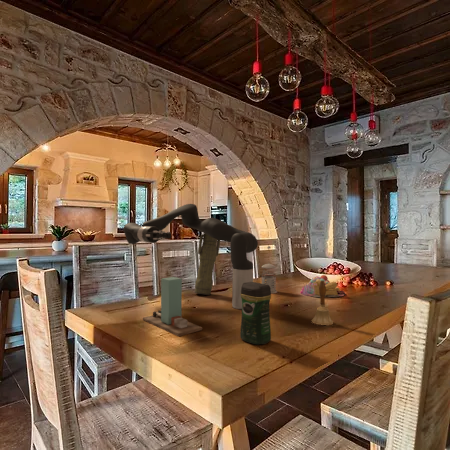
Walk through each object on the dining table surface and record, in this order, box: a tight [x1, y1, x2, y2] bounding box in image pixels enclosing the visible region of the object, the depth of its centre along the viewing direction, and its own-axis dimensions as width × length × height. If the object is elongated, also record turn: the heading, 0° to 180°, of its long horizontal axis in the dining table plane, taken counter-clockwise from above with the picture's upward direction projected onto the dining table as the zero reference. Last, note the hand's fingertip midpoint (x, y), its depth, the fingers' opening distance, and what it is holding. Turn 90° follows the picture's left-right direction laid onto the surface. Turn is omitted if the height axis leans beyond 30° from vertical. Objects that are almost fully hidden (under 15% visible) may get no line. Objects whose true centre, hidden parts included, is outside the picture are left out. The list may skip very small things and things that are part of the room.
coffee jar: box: [239, 281, 272, 345], centre depth 104 cm, size 10×8×19 cm
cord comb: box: [142, 310, 203, 337], centre depth 119 cm, size 24×10×4 cm, turn 43°
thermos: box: [194, 233, 221, 296], centre depth 171 cm, size 9×12×35 cm
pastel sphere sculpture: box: [300, 274, 347, 298], centre depth 176 cm, size 25×24×9 cm
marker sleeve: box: [160, 276, 183, 325], centre depth 119 cm, size 5×6×16 cm
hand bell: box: [310, 281, 334, 325], centre depth 123 cm, size 8×8×16 cm
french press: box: [261, 246, 278, 294], centre depth 178 cm, size 10×12×25 cm
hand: (169, 235), depth 138 cm, fingers closed
